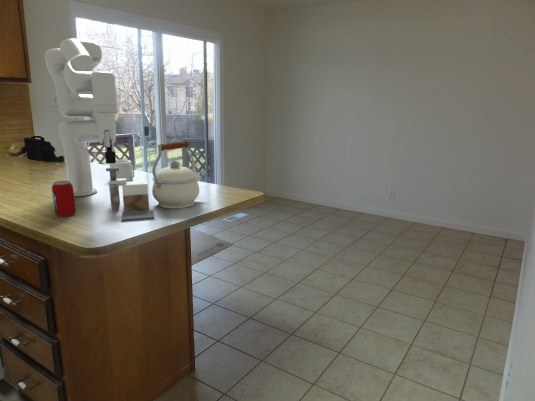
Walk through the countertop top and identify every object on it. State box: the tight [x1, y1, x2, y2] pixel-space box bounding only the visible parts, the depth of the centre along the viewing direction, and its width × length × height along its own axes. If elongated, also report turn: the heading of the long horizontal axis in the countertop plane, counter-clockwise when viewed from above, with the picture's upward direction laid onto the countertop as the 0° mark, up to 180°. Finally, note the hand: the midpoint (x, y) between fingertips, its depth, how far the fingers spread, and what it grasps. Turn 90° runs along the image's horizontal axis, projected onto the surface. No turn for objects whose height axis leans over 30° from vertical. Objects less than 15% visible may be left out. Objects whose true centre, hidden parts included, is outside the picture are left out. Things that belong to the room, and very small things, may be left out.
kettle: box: [151, 140, 201, 210], centre depth 153 cm, size 25×18×25 cm
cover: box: [121, 180, 149, 197], centre depth 147 cm, size 9×6×4 cm, turn 108°
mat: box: [120, 209, 155, 222], centre depth 138 cm, size 11×9×1 cm
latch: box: [105, 167, 127, 186], centre depth 144 cm, size 7×3×6 cm, turn 108°
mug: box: [108, 159, 135, 182], centre depth 196 cm, size 14×11×10 cm
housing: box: [108, 184, 150, 212], centre depth 149 cm, size 14×13×10 cm
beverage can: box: [51, 180, 77, 217], centre depth 138 cm, size 7×7×12 cm
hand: (111, 162), depth 136 cm, fingers closed
